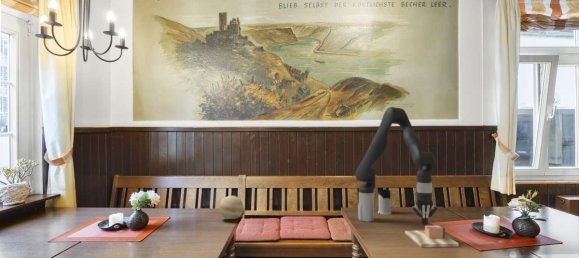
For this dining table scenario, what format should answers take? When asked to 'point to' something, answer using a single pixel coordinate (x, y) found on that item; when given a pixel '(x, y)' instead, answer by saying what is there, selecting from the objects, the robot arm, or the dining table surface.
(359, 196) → the robot arm
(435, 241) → the board
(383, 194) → the glass holder
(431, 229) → the block
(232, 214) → the decorative ball
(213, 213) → the dining table surface
